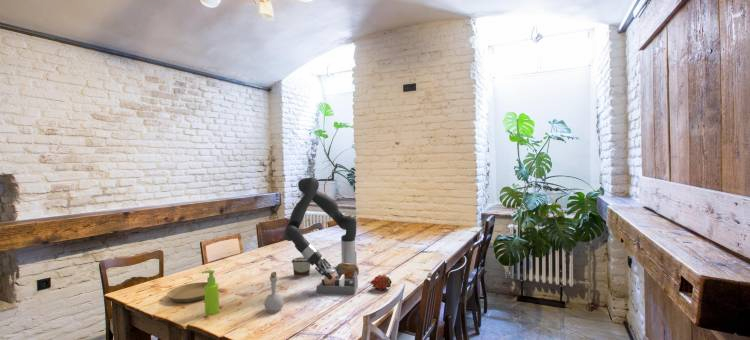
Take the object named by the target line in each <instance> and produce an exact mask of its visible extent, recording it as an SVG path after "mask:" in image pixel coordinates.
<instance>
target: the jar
mask: <svg viewBox="0 0 750 340" xmlns="http://www.w3.org/2000/svg"><path fill="white" fill-rule="evenodd" d="M326 270H327V271H328V273H329V274H330V275H331V276H332V277H333V278H332V279H331V280H329V279H328V278H327V277H326V276H324V275H323V279H324V285H325V286H334V285H335V279H336V269H335V268H334V267H331V268H327V269H326Z"/></svg>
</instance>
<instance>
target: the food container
mask: <svg viewBox="0 0 750 340" xmlns="http://www.w3.org/2000/svg"><path fill="white" fill-rule="evenodd" d="M291 264H292V269H293V270H292V271H293V276H294V277H310V270H311V264H310V263H309V262H308V261H307V260H306V259H305V258H304V257H303V256H302V257H301V256H300V257H295V258H293V259H292V260H291Z"/></svg>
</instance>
